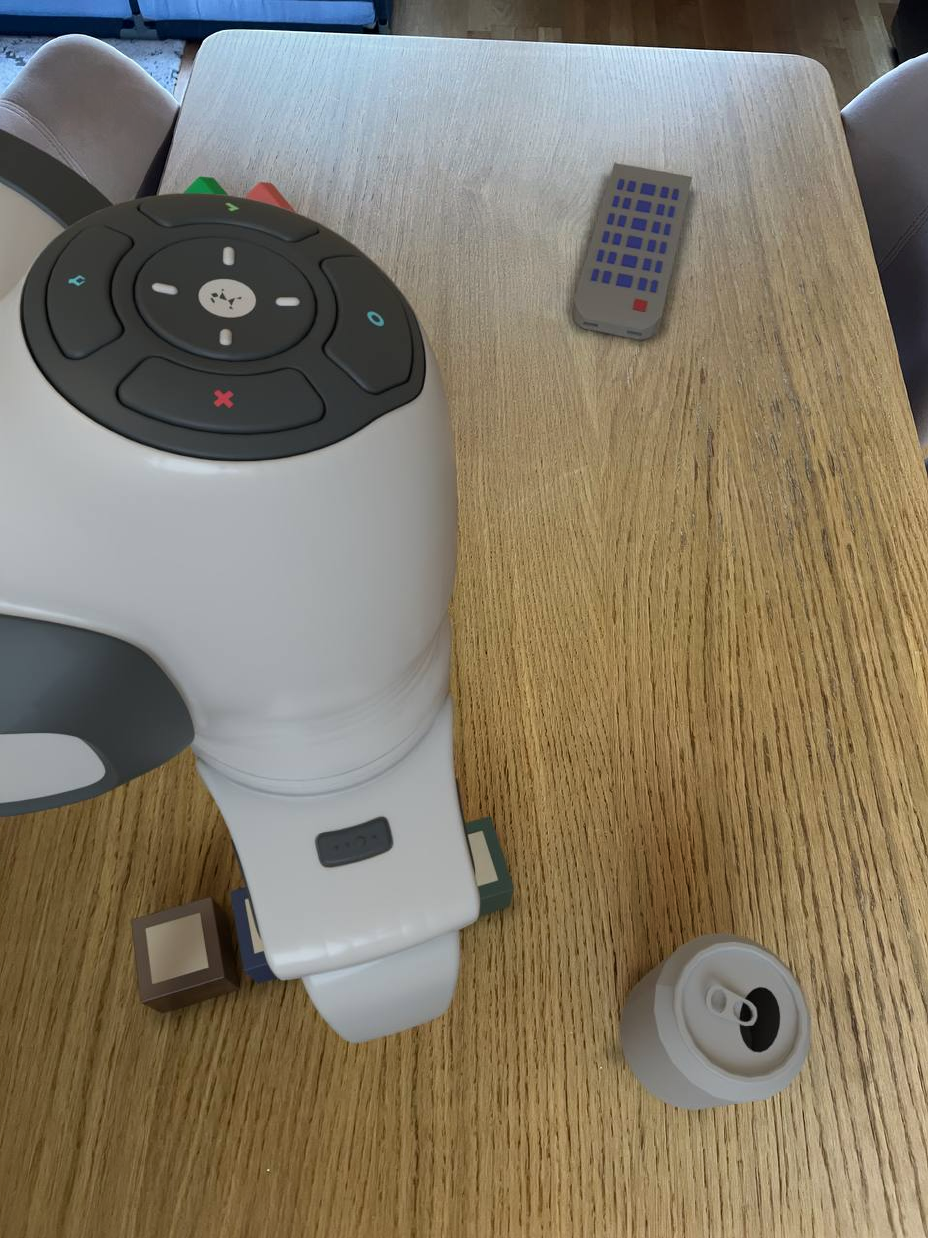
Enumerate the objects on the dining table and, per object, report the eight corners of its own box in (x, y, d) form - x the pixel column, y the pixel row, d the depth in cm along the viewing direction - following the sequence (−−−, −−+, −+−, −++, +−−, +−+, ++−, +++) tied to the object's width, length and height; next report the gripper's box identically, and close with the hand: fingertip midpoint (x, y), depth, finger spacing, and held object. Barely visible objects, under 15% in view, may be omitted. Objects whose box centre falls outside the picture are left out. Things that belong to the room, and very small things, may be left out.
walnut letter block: (162, 1014, 52) (139, 1003, 48) (152, 936, 54) (130, 919, 50) (240, 990, 53) (224, 977, 49) (227, 914, 55) (211, 895, 51)
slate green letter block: (438, 929, 55) (438, 912, 51) (418, 858, 57) (417, 836, 53) (509, 907, 56) (514, 889, 52) (487, 838, 58) (490, 815, 54)
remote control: (688, 194, 92) (693, 174, 90) (654, 345, 81) (659, 326, 79) (611, 179, 93) (614, 159, 91) (566, 327, 81) (569, 307, 80)
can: (732, 1133, 50) (810, 1129, 39) (601, 1080, 51) (643, 1062, 41) (759, 996, 53) (836, 959, 43) (635, 949, 55) (682, 902, 44)
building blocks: (214, 139, 75) (313, 258, 79) (243, 145, 83) (333, 254, 86) (152, 207, 78) (251, 319, 81) (185, 207, 85) (275, 310, 89)
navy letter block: (257, 984, 53) (243, 971, 49) (244, 909, 55) (229, 890, 51) (333, 961, 54) (324, 946, 50) (316, 887, 56) (307, 867, 52)
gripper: (175, 466, 34) (239, 642, 46) (280, 1034, 25) (327, 1071, 37) (339, 433, 35) (360, 613, 47) (500, 965, 26) (476, 1023, 38)
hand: (346, 816), depth 42 cm, fingers open, 8 cm apart
